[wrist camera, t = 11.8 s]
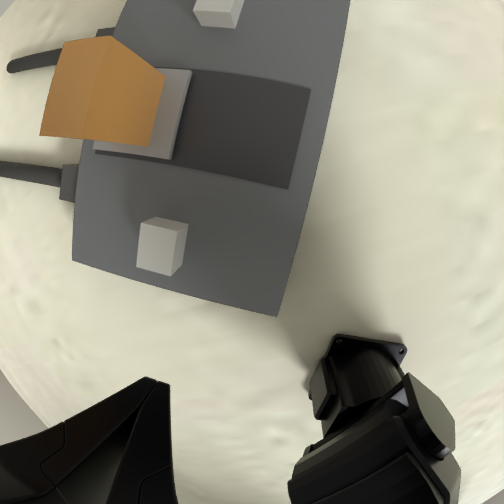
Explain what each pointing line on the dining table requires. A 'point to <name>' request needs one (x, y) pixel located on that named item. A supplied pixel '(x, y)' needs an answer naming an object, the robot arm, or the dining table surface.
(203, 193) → the panel
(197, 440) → the dining table surface
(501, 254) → the dining table surface
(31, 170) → the twin dark prongs
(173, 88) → the breaker handle
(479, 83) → the dining table surface
